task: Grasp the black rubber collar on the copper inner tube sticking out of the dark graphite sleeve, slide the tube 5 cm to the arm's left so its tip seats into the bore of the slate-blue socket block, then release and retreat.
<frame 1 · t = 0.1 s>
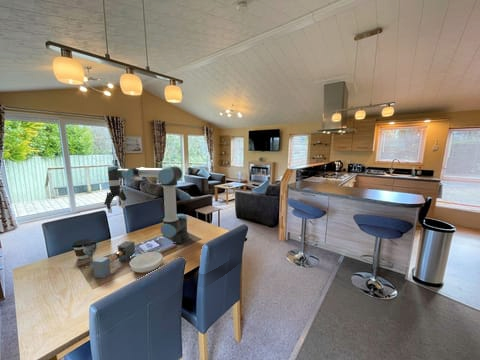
hand: (116, 210, 161), 28 cm above the table, fingers open, 13 cm apart
socket: (102, 275, 120), on the table
tube: (120, 253, 134), point 6 cm above the table, slide at 0.0 cm
bowl: (147, 268, 129), on the table
sleeve: (127, 257, 140), on the table
coffee cup: (83, 257, 140), on the table
wine glass: (92, 264, 132), on the table
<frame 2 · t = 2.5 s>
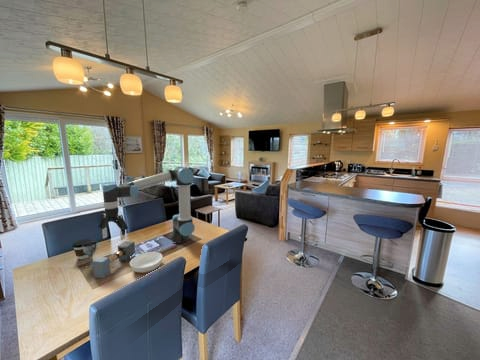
hand: (113, 238, 128), 19 cm above the table, fingers open, 13 cm apart
nothing on the table moved.
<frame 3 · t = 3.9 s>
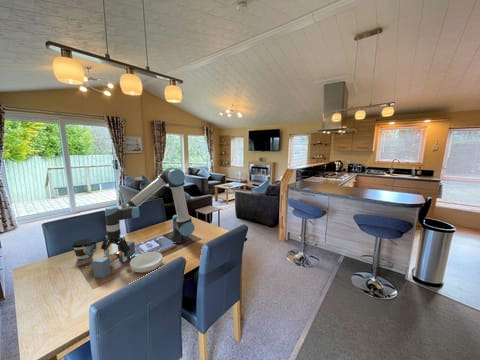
hand: (116, 259, 131), 4 cm above the table, fingers open, 13 cm apart
nothing on the table moved.
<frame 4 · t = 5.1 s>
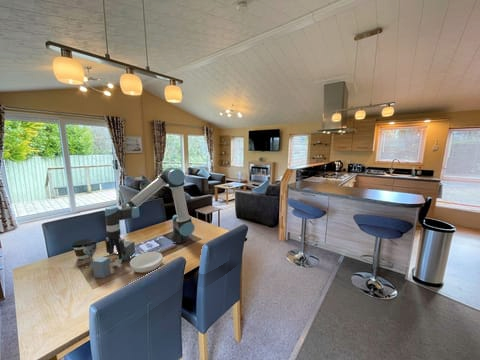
hand: (116, 262, 131), 2 cm above the table, fingers closed on tube, 4 cm apart
tube: (120, 253, 134), point 6 cm above the table, slide at 0.0 cm, touching gripper
everything else where it was.
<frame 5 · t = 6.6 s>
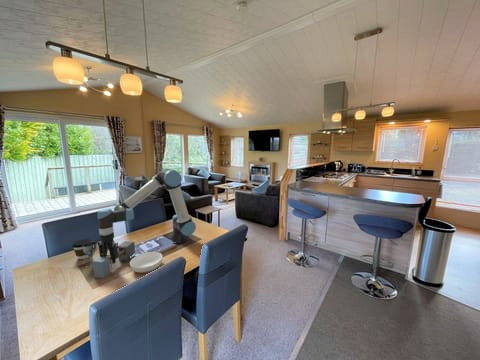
hand: (110, 267, 126), 2 cm above the table, fingers closed on tube, 4 cm apart
tube: (113, 257, 129), point 6 cm above the table, slide at 5.2 cm, touching gripper
everything else where it was.
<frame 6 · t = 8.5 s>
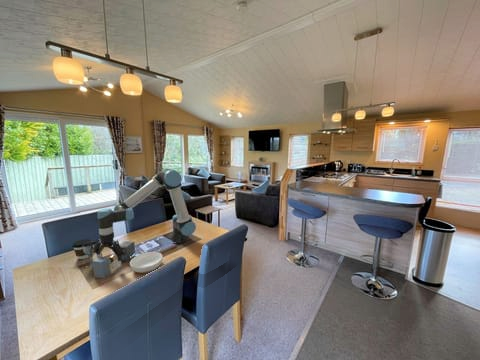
hand: (109, 264, 125), 4 cm above the table, fingers open, 13 cm apart
tube: (113, 257, 129), point 6 cm above the table, slide at 5.3 cm
everything else where it was.
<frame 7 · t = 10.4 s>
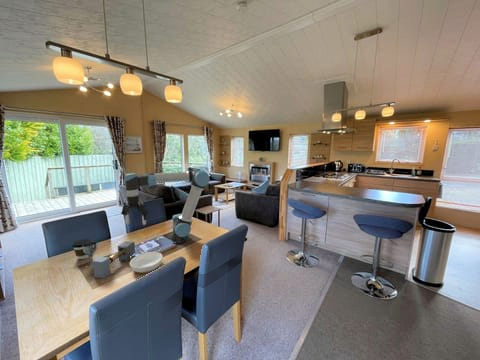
hand: (136, 223, 140), 24 cm above the table, fingers open, 13 cm apart
nothing on the table moved.
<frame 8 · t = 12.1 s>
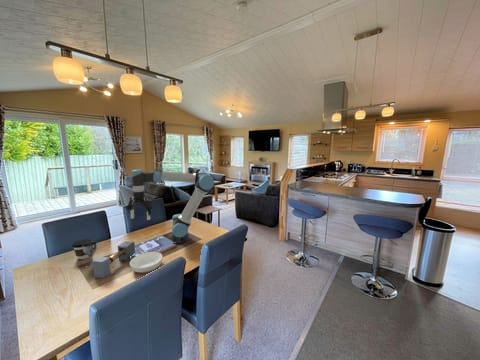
hand: (140, 218, 144), 27 cm above the table, fingers open, 13 cm apart
nothing on the table moved.
at the end: tube slide at 5.3 cm; the gripper is holding nothing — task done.
